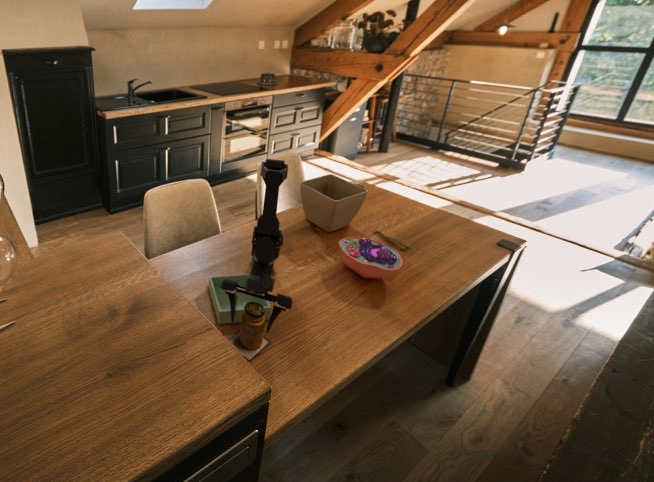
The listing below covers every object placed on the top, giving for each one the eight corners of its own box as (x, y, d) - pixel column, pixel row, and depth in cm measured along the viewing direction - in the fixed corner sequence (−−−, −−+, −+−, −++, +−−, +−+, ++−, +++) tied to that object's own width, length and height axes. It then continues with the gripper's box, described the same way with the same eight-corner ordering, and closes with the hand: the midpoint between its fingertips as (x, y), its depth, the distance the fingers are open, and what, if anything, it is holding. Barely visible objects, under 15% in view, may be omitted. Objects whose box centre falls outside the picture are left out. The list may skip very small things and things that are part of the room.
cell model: (347, 248, 144) (353, 222, 139) (404, 274, 131) (413, 246, 126) (325, 268, 133) (331, 241, 129) (386, 298, 120) (394, 269, 115)
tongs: (376, 231, 155) (377, 227, 154) (409, 248, 145) (410, 244, 144) (370, 235, 152) (372, 230, 152) (403, 252, 143) (405, 248, 142)
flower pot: (293, 216, 165) (298, 181, 158) (324, 206, 173) (331, 173, 166) (328, 239, 149) (335, 201, 143) (360, 227, 158) (369, 190, 151)
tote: (253, 284, 125) (255, 273, 123) (269, 319, 111) (271, 307, 110) (208, 287, 124) (208, 276, 122) (218, 324, 110) (219, 311, 108)
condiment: (268, 342, 104) (273, 308, 99) (249, 360, 99) (253, 325, 94) (247, 326, 109) (250, 294, 104) (227, 343, 104) (230, 309, 99)
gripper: (224, 254, 101) (209, 314, 96) (297, 273, 95) (284, 339, 90) (230, 261, 111) (217, 317, 106) (297, 279, 104) (285, 339, 99)
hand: (249, 327), depth 100 cm, fingers open, 9 cm apart
